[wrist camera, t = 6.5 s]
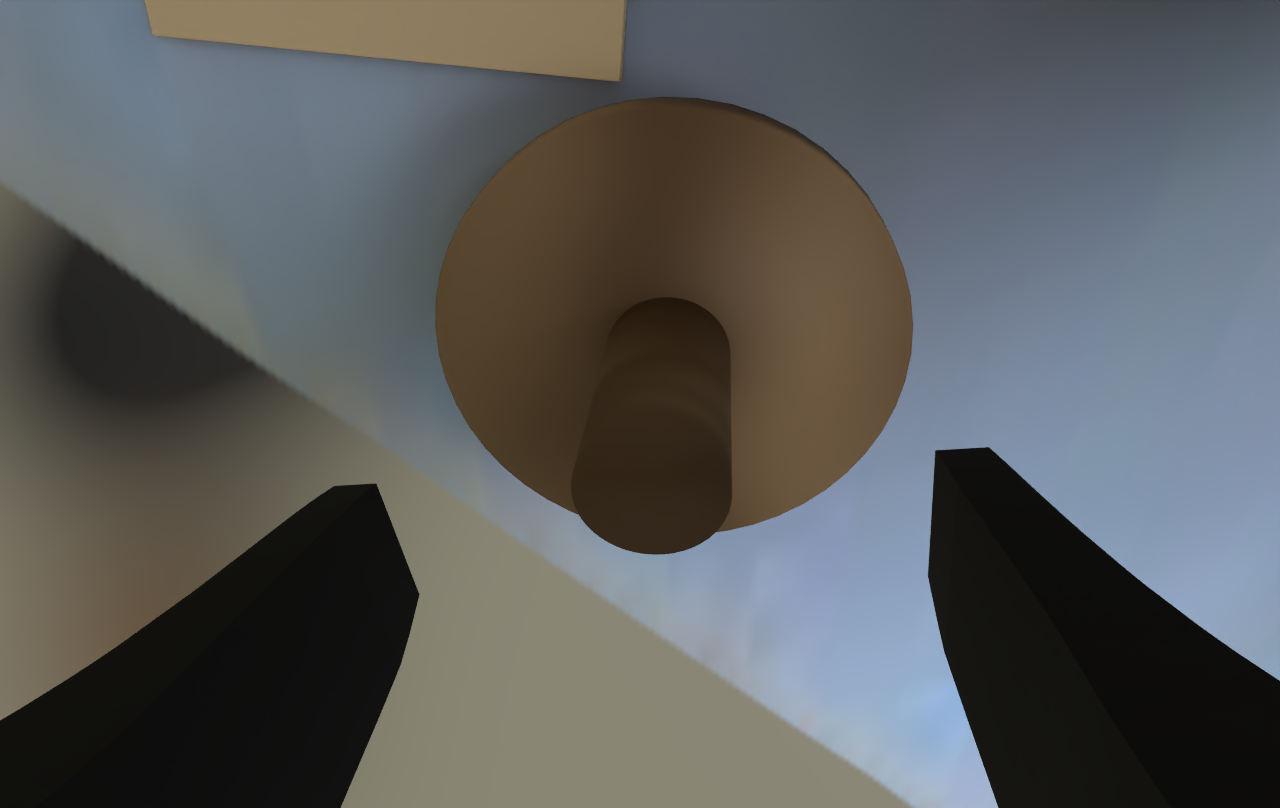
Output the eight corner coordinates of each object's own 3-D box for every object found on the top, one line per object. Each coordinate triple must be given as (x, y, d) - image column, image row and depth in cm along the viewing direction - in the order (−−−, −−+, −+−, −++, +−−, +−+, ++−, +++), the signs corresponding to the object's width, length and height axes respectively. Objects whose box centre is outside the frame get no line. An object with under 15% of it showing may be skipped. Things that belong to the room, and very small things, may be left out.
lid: (900, 53, 12) (988, 129, 8) (906, 491, 16) (965, 685, 12) (385, 142, 14) (241, 245, 10) (513, 524, 18) (451, 708, 14)
